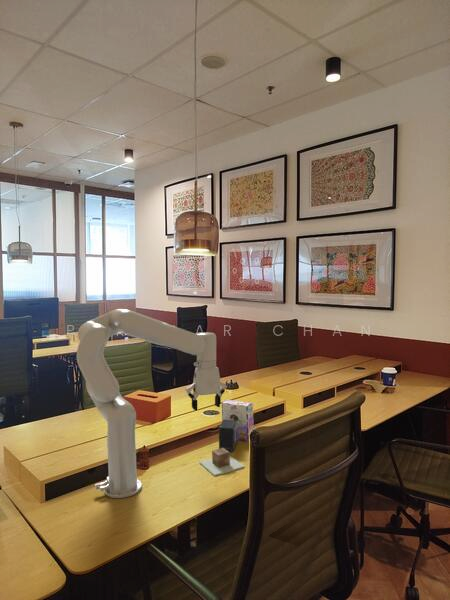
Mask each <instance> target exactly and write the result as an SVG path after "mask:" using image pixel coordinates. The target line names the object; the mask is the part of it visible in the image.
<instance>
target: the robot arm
mask: <svg viewBox="0 0 450 600" xmlns="http://www.w3.org/2000/svg"><path fill="white" fill-rule="evenodd" d="M118 333H120V334H123V335H126V336H129V337H132V338H135V339H138V340H141V341H146V342H148V343H152V344H154V345H158V346H163V347H168V348H171V349H175V350H177V351H181V352H183V353H186V354H190V355H192V356H196V362H193V366H194V367H195V369H194V374H193V382H192V384H190V385H189V386H187V387H186V388H185V389H184V390H185V393H186V394H187V396H188V397H189V398H190V399H191V408H192V410H194V411H197V410H198V400H197V399H198V397H199V396H208V395H214V406H215V407H217V408H221V405H222V402H221V400H222V399H221V398H222V397H223V394H224V393H225V390H226V388H227V387H228V386H227V384H226V383H223V382H222V381H221V376H220V370H219V367H217V335H216V333H214V332H198V333H194V332H192V331H189V330H186V329H183V328H180V327H176V326H174V325H172V324H169V323H167V322H165V321H162V320H159V319H156V318H153V317H150V316H149V315H148V316H147V315H144V314H142V313H139V312H136V311H133V310H130V309H126V308H116V309H113V310H111V311H109V312H106V313H105V314H104V313H103V315H99V316H98V317H95V318H93V319H90V320H87V321H86V322H84V323H83V324H81V325H80V327H79V328H78V330H77V338H78V340H79V343H78V345H77V351H76V362H77V365H78V368H79V370H80V372H81V374H82V376H83V378H84V380H85V387H86V388H85V389H86V392H87V393H88V395H89V397H90V398H91V400H92V401H93V404H94V406H95V408H96V409H97V411H99V414H100V415H101V417H102V418H103V419H104V420H105V421H106V423H107V432H106V433H107V435H106V443H107V444H106V446H107V448H106V449H107V464H108V465H107V467H108V468H107V469H108V476H106V480H103V481H102V482H97V483H95V484H94V490H95V491H96V490H100V492H104V494H105V495H106V497H108V498H112V499H124V498H129V497H132V496H134V495H136V494H138V493H139V492H140V491H141V489H142V487H143V486H142V485H143V484H142V481H141V480H139V479H138V475H137V473H138V472H137V471H138V470H137V450H136V449H137V448H136V426H137V425H136V423H137V413H136V410H135V407H134V406H133V405H132V403H131V402H129V400H126V399H125V398H124V397H123V395H122V394H121V392H120V383H119V381H118V379H117V378H116V377H115V375H114V373H113V372H112V370H111V369H110V366H109V364H108V362H107V361H106V359H105V355H104V352H105V351H104V350H105V347H106V345H107V344H108V342H109V339H110V337H113V336H114V335H116V334H118ZM191 391H193V393H192V392H191Z"/></svg>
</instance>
